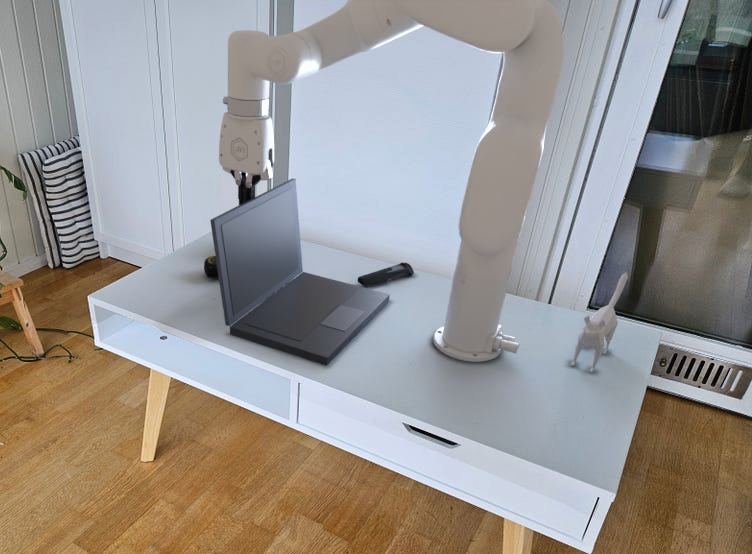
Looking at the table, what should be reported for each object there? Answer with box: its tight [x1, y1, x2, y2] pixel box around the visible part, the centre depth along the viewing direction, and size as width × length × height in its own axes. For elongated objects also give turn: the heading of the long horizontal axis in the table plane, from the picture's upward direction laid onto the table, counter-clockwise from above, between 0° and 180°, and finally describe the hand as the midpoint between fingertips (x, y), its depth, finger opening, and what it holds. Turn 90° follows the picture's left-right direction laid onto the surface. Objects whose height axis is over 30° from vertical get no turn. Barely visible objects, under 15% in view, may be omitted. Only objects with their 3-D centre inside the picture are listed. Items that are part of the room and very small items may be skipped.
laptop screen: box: [210, 178, 304, 327], centre depth 129 cm, size 21×30×1 cm
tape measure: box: [203, 255, 219, 279], centre depth 145 cm, size 7×7×4 cm
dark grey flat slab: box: [229, 271, 391, 367], centre depth 130 cm, size 21×30×2 cm
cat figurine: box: [570, 271, 629, 374], centre depth 115 cm, size 4×20×14 cm, turn 142°
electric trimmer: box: [357, 262, 415, 287], centre depth 145 cm, size 4×16×3 cm, turn 123°
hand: (246, 204), depth 126 cm, fingers closed
